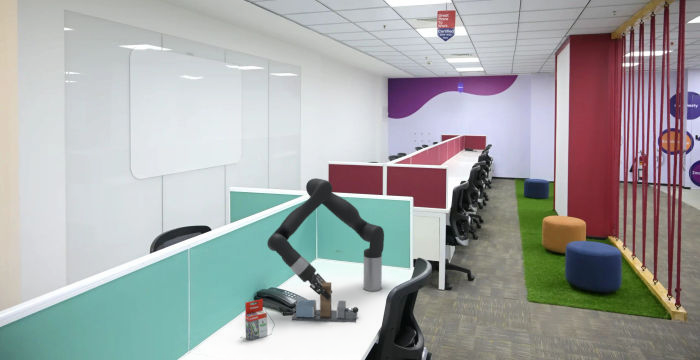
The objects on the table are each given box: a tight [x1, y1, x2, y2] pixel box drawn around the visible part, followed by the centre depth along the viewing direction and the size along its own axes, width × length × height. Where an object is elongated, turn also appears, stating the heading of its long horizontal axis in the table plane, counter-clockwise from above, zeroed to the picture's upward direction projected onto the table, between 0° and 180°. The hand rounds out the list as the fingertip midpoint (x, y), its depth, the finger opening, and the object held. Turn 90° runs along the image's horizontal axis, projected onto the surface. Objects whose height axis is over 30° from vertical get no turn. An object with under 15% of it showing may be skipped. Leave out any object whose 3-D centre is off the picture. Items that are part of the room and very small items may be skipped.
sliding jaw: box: [295, 299, 317, 317], centre depth 221 cm, size 8×8×5 cm
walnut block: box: [319, 281, 332, 317], centre depth 220 cm, size 4×4×14 cm
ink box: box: [244, 298, 268, 341], centre depth 200 cm, size 4×8×15 cm, turn 124°
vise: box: [291, 300, 359, 323], centre depth 221 cm, size 10×29×6 cm, turn 86°
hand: (330, 295), depth 220 cm, fingers open, 5 cm apart
